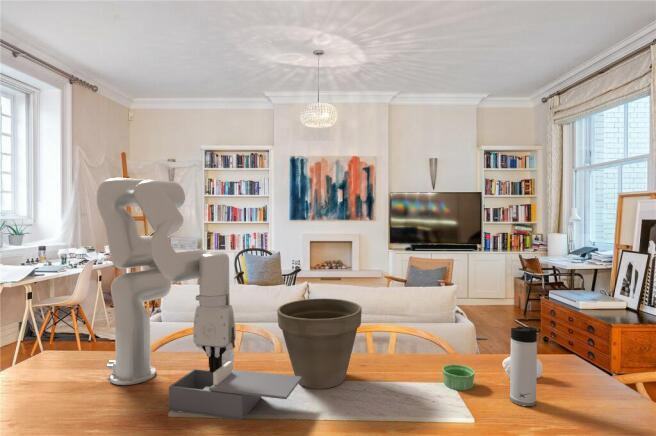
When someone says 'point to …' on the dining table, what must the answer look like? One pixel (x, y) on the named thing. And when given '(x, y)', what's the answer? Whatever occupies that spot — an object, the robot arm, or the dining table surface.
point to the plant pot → (320, 338)
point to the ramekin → (458, 377)
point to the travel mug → (523, 365)
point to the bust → (507, 367)
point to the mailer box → (208, 397)
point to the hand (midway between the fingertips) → (215, 370)
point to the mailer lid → (253, 382)
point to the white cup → (228, 356)
